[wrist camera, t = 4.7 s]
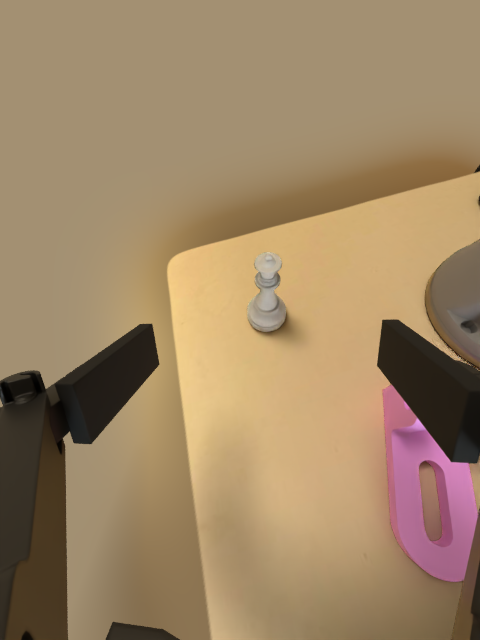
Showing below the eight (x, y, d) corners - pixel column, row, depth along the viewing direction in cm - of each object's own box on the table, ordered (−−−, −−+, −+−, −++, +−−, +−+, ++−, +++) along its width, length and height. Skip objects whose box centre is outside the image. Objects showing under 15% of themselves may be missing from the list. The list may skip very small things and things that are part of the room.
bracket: (382, 389, 25) (416, 370, 19) (447, 398, 24) (505, 380, 18) (392, 561, 20) (444, 612, 14) (477, 582, 19) (575, 648, 13)
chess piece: (293, 314, 30) (306, 252, 21) (268, 339, 29) (270, 285, 20) (264, 293, 32) (266, 228, 23) (239, 316, 30) (230, 256, 22)
